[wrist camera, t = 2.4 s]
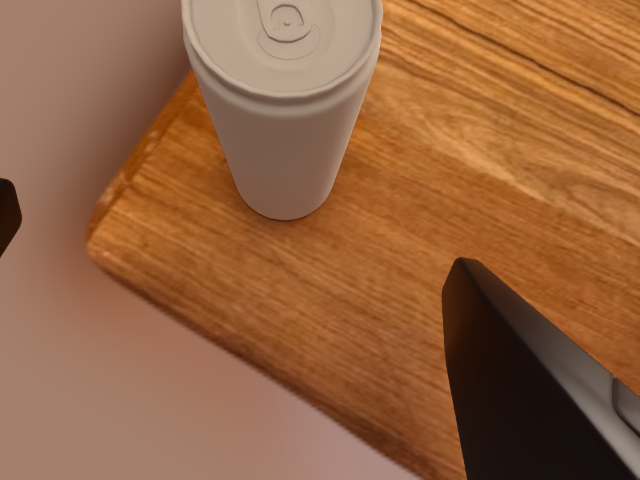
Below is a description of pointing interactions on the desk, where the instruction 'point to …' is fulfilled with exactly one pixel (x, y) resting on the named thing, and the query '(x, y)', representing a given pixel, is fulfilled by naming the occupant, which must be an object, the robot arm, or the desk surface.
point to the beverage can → (283, 90)
